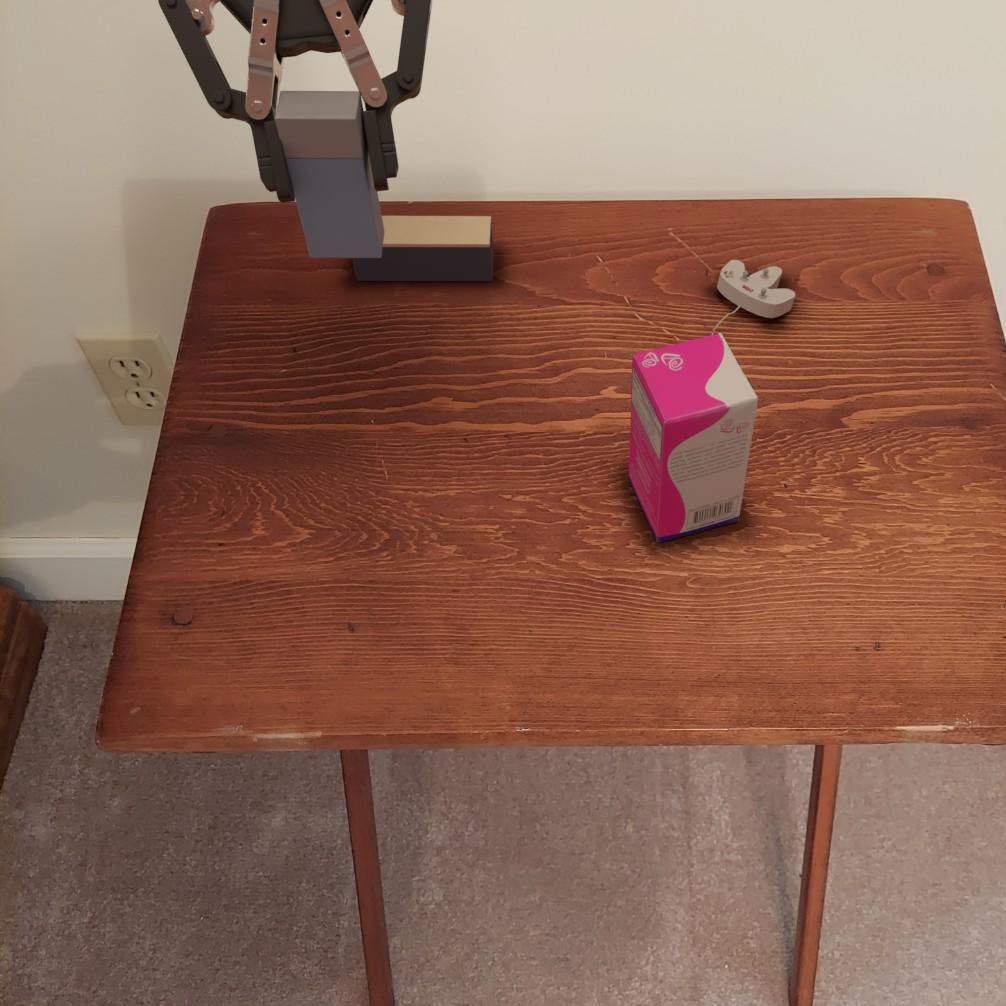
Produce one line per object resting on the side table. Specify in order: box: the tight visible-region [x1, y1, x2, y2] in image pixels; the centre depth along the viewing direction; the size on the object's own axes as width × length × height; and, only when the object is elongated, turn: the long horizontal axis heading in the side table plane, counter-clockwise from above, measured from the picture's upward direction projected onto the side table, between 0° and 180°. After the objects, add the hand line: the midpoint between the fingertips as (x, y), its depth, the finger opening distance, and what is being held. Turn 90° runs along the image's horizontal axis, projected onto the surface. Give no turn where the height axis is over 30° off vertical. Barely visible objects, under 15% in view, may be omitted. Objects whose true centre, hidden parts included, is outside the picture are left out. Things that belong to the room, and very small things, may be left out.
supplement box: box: [628, 332, 759, 543], centre depth 71 cm, size 6×6×12 cm
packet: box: [275, 90, 385, 259], centre depth 63 cm, size 4×2×9 cm, turn 91°
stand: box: [351, 215, 495, 282], centre depth 86 cm, size 10×3×4 cm, turn 91°
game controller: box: [710, 259, 796, 335], centre depth 83 cm, size 6×12×3 cm, turn 158°
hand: (333, 193), depth 61 cm, fingers closed on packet, 4 cm apart
